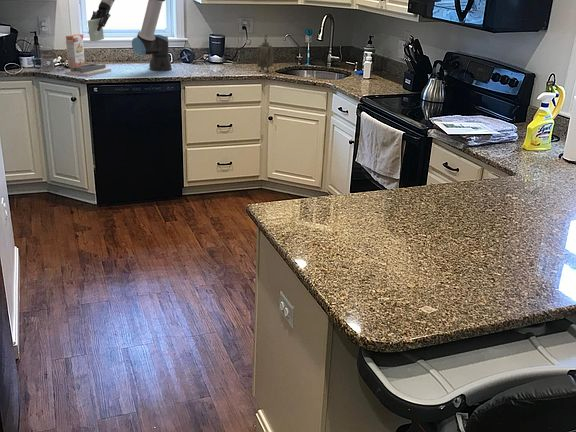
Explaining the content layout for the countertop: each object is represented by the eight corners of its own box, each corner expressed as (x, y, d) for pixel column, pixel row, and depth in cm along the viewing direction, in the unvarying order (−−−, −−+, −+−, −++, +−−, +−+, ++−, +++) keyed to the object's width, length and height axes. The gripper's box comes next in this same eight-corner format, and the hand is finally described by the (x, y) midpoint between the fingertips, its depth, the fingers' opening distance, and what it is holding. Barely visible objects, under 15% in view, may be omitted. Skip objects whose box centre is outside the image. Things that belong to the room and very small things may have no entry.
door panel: (103, 38, 422) (101, 19, 416) (94, 41, 415) (92, 21, 409) (99, 38, 423) (96, 18, 417) (90, 40, 416) (87, 20, 410)
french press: (39, 69, 410) (34, 30, 401) (57, 68, 416) (53, 29, 406) (41, 71, 402) (36, 31, 393) (60, 71, 408) (56, 31, 398)
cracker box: (76, 68, 420) (73, 36, 412) (67, 67, 421) (64, 35, 413) (85, 65, 433) (83, 34, 425) (77, 64, 434) (74, 33, 426)
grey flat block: (111, 71, 416) (110, 64, 415) (88, 76, 396) (87, 69, 394) (89, 68, 422) (88, 62, 421) (65, 73, 401) (64, 66, 400)
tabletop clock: (261, 69, 447) (262, 33, 438) (273, 70, 446) (274, 34, 437) (256, 72, 434) (257, 35, 425) (269, 73, 433) (270, 36, 423)
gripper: (118, 9, 420) (105, 39, 414) (99, 7, 426) (85, 36, 420) (112, 2, 413) (99, 32, 407) (92, 0, 419) (78, 29, 414)
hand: (92, 34), depth 414 cm, fingers closed on door panel, 4 cm apart
